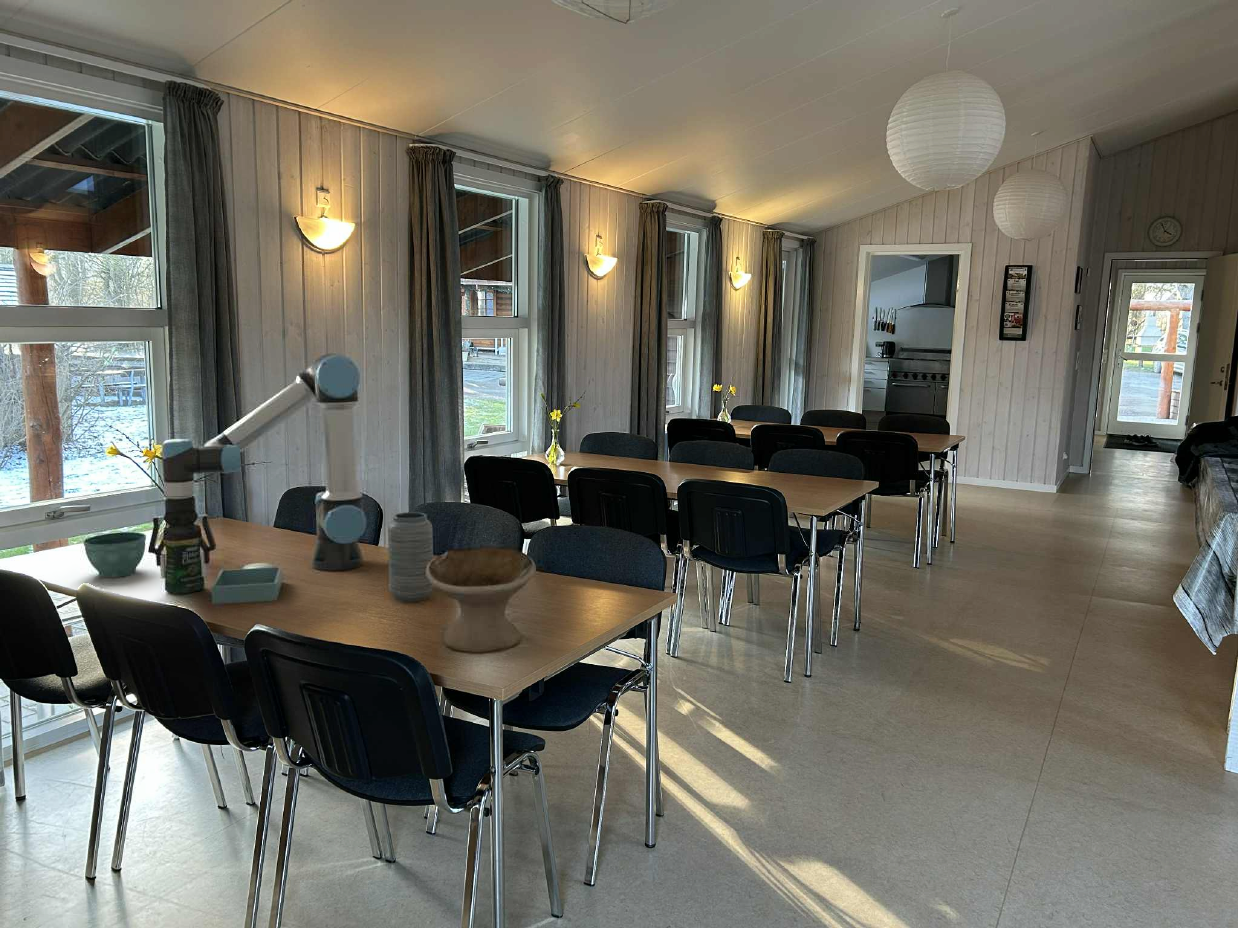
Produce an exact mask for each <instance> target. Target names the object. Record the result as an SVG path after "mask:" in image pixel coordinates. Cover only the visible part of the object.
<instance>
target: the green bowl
mask: <svg viewBox="0 0 1238 928" xmlns="http://www.w3.org/2000/svg"><path fill="white" fill-rule="evenodd" d="M146 540H147V535H146V534H145V533H143V532H134V531H133V532H132V531H126V532H125V531H124V532H122V531H121V532H119V531H118V532H111V533H110V532H109V533H103V534H98V535H94V536H90V537H87V538H85V539H84V540H83V542H82V543H83V546H84V551H85V555H86V557H87V559H88V561H89V563H90V565H91V566H92V567H93V568H94V569H95V570H96V571H97V573H98V575H99V577H101V578H109V579H111V578H112V579H114V578H122V577H126V576H131V575H134V574H135V573H136V572H137V567H138V566H139V564H140V563H141V561H142V559H143V557H144V555H145V551H146Z"/></svg>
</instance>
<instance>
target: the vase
mask: <svg viewBox="0 0 1238 928" xmlns="http://www.w3.org/2000/svg"><path fill="white" fill-rule="evenodd" d="M387 538H388V540H387V541H388V585H389V589H388V590H389V593H390V594H391V595H392V596H393V597H394V598H395V601H397V602H400V603H406V604H407V603H408V604H410V603H411V604H412V603H420V602H422V601H426V600H427V599H428V598H429V596H430V595H431V594H432V592H433V589H434V587H433V586H432V585H431V584H430V582H429V580H428V578H427V576H426V568H427V565H428V563H429V562H430V561H431V560H433V559H434V554H433V553H434V552H433V551H434V548H433V547H434V546H433V545H434V543H433V542H434V541H433V525H432V522H431V521H430V520H429V519H428V516H427V514H426V513H424V512H416V511H415V512H414V511H410V512H400V513H395V514H394V515H393V519H392V521H391V522H389V525H388V527H387Z"/></svg>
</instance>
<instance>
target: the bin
mask: <svg viewBox="0 0 1238 928" xmlns="http://www.w3.org/2000/svg"><path fill="white" fill-rule="evenodd" d="M282 571H283V570H282V566H273V567H268V568H249V569H243V568H236V569H235V568H233V569H231V568H230V569H220V571H219V573H218V574H217V576H216V578H215V580H214V582H213V584H212V585H211V602H212V603H211V604H212V605H220V604H222V605H223V604H238V603H252V602H253V603H254V602H255V603H256V602H269V601H278V597H279V594H280V591H281V587H282V583H283V576H282Z"/></svg>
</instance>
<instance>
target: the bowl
mask: <svg viewBox="0 0 1238 928" xmlns="http://www.w3.org/2000/svg"><path fill="white" fill-rule="evenodd" d="M536 570H537V567H536V564H535V562H534V560H533V559H532V558H531V557H530V556H529V555H528V554H527V553H525V552H523V551H521V550H518V549H516V548H515V549H514V548H507V547H500V546H479V547H467V548H465V547H464V548H454V549H451V550H447V551H445V552H444V554H440V555H438V556H436V557H433V560H431V561H430V562H429V563H428V565H427V568H426V576H427V578H428V580H429V582H430V584H431V585H432V586H433V589H435V590H437V592H439V593H441V594H442V595H443V596H445V597H447V598H450V599H451V600H456V601H457V602H458V606H459V609H460V615H459V617H458V618H457V619H456V620H454V621H453V622H452V623H451V624H450V626H449V627H448V628H447V629H446V631H445V633H444V634H443V635H444V636H443V638H442V640H443V644H444V645H445V646H446V648H448V649H451V650H454V651H457V652H462V653H471V654H484V653H485V652H486V653H492V652H498V651H497V650H499V651H504V650H506V649H507V648H508V649H509V647H510V648H512V646H513V647H514V645H515V646H517V645H518V644H520V643H519V642H521V641H522V636H521V633H520V631H519V630H518V627H517V626H516V625H515V624H514V623H512V621H509V619H507V617H506V614H505V613H506V608H507V606H508V602H509V600H510V598H511V597H513V595H515V594H516V593H518V592H519V591H520V590H521V589H523V587H524V586H526V584H527V583H528V582H529V581H530V580H531V579H532V578H533V577H534V575H535V573H536ZM516 644H517V645H516ZM503 649H504V650H503ZM486 653H485V654H486Z"/></svg>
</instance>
